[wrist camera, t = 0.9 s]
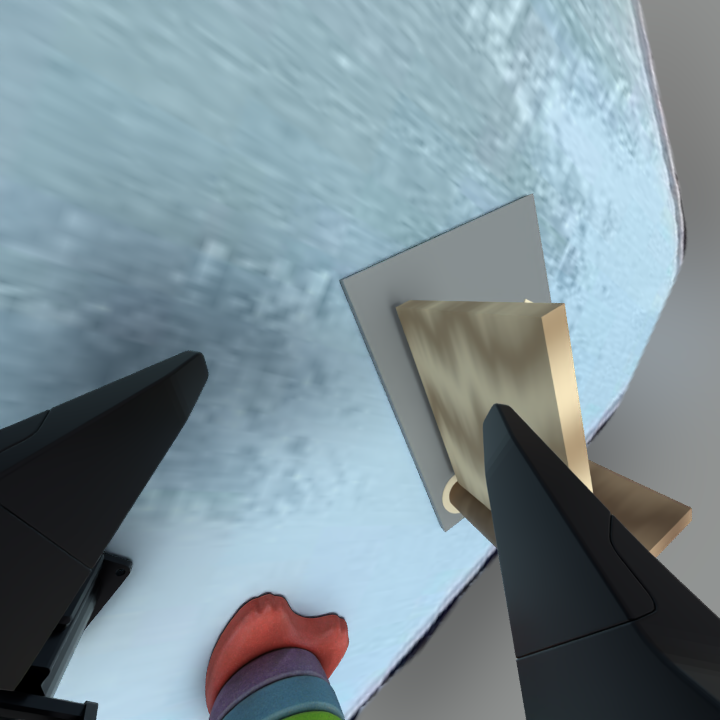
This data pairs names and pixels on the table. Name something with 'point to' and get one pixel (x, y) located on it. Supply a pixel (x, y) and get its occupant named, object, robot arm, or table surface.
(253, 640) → the stacking bear
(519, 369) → the folding fence panel
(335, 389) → the table surface
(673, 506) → the fixed fence panel
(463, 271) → the board
